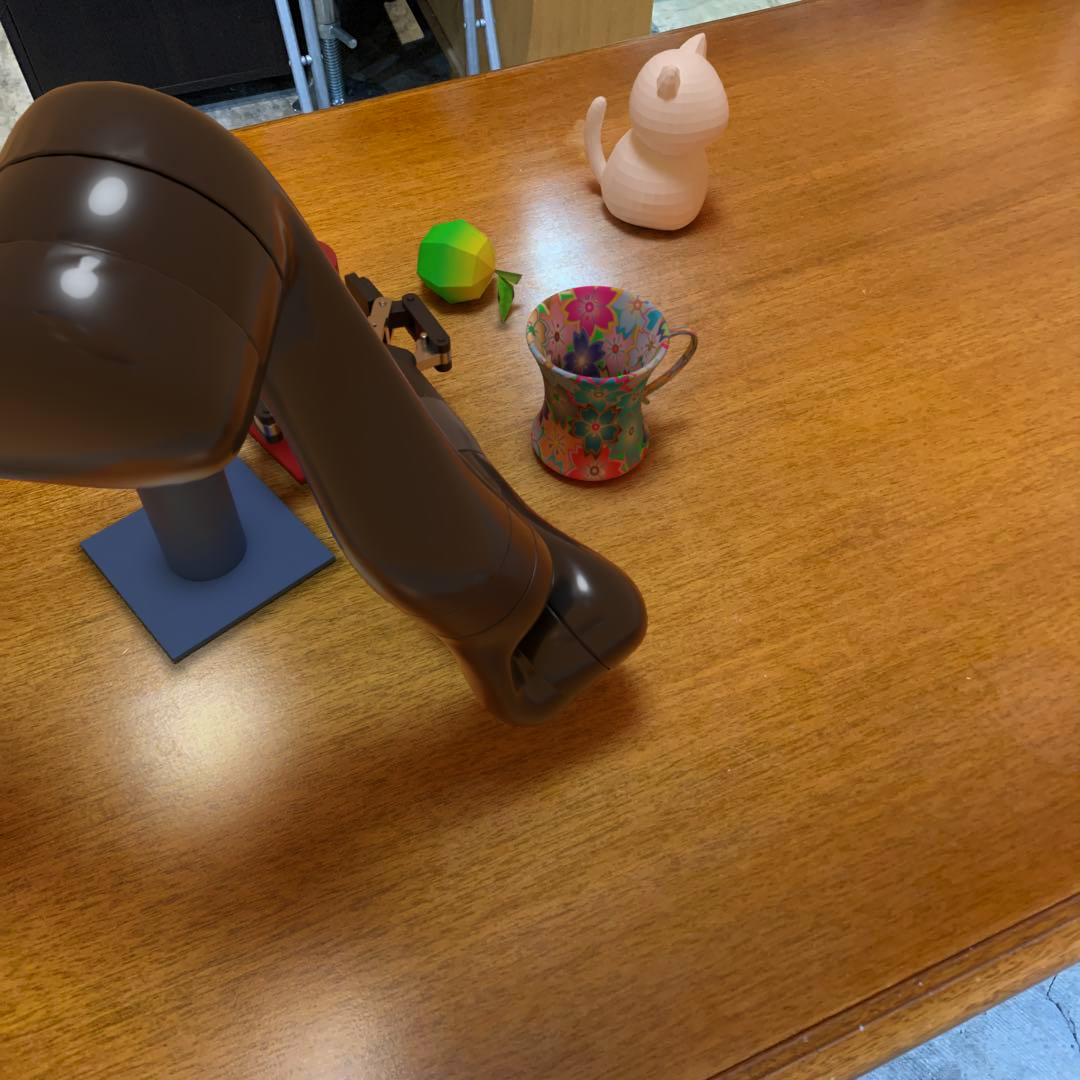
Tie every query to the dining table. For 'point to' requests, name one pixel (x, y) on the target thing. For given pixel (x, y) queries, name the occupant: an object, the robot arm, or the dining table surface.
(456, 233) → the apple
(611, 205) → the cat figurine
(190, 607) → the blue mat
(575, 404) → the mug
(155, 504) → the blue bottle
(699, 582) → the dining table surface
